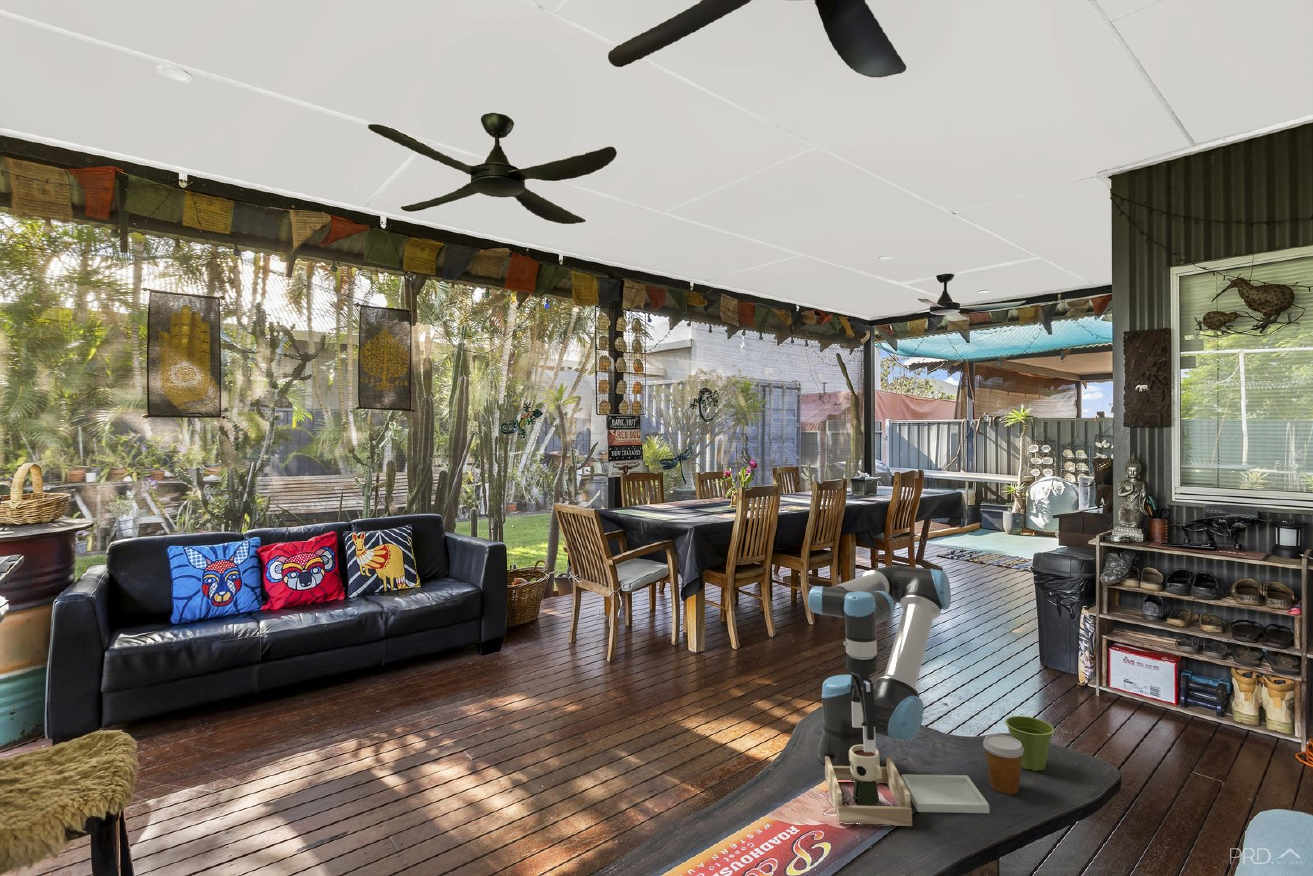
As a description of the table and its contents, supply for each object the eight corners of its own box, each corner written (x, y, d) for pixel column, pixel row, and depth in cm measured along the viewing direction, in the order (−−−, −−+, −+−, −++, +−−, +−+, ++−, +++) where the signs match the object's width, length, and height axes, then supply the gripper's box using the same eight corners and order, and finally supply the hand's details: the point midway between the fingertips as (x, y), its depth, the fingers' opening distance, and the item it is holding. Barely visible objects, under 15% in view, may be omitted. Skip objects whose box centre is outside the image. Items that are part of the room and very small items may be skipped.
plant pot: (1045, 781, 173) (1043, 738, 173) (998, 764, 183) (997, 724, 183) (1062, 766, 181) (1061, 725, 181) (1017, 751, 190) (1016, 712, 190)
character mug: (840, 795, 169) (838, 745, 169) (860, 788, 173) (859, 739, 173) (871, 816, 160) (869, 763, 160) (892, 808, 163) (891, 756, 163)
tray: (901, 782, 175) (901, 774, 175) (967, 783, 174) (967, 775, 174) (917, 811, 161) (917, 803, 161) (989, 813, 160) (989, 805, 160)
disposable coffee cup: (1031, 799, 165) (1029, 751, 165) (990, 796, 167) (988, 749, 167) (1018, 779, 174) (1016, 734, 174) (979, 777, 176) (978, 732, 176)
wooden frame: (825, 780, 177) (824, 754, 177) (890, 781, 175) (889, 755, 175) (839, 824, 157) (838, 795, 157) (912, 826, 155) (911, 796, 155)
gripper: (837, 639, 179) (839, 717, 179) (856, 672, 154) (859, 762, 154) (865, 639, 178) (867, 718, 178) (889, 672, 153) (891, 763, 153)
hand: (863, 739), depth 166 cm, fingers open, 13 cm apart
